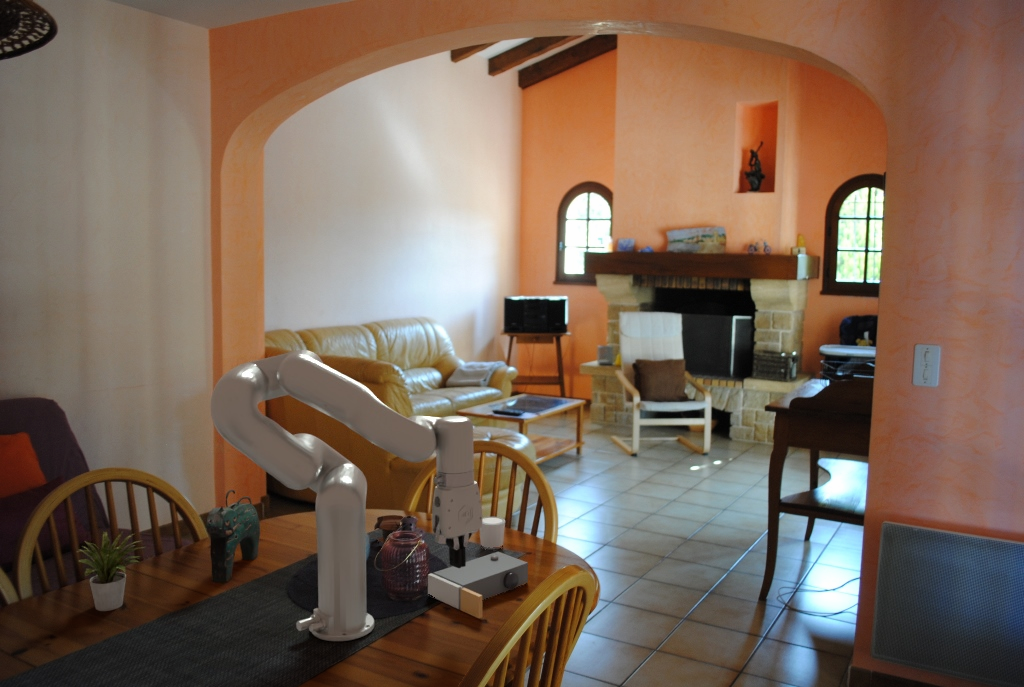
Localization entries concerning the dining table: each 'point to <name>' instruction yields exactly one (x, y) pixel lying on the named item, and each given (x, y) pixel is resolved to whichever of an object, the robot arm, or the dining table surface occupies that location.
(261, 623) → the dining table surface
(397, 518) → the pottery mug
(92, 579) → the house plant
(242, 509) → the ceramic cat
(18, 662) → the dining table surface
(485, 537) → the white cup
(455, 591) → the side door
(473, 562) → the box
